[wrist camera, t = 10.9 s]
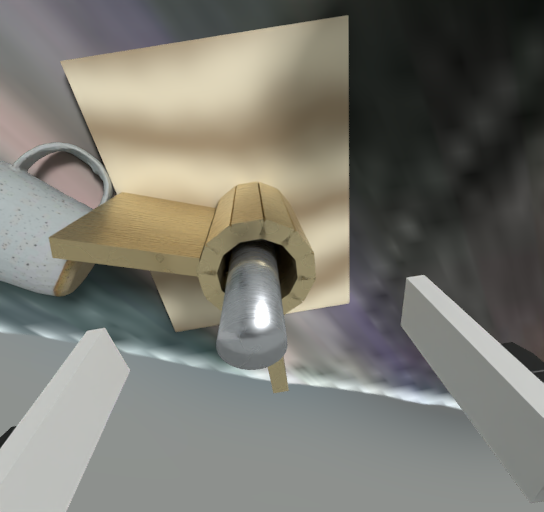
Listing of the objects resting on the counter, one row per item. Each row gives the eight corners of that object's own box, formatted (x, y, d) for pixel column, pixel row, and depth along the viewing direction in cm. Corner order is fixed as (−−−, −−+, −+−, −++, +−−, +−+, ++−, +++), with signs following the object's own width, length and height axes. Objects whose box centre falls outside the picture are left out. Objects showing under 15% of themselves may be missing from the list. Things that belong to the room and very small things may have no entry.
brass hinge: (117, 192, 21) (40, 238, 13) (286, 165, 21) (309, 194, 14) (175, 331, 29) (148, 414, 21) (302, 310, 29) (324, 384, 21)
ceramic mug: (98, 271, 26) (46, 326, 19) (0, 228, 23) (-102, 274, 16) (143, 178, 22) (99, 204, 15) (34, 115, 20) (-78, 112, 13)
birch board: (69, 63, 18) (60, 61, 17) (343, 20, 18) (348, 15, 17) (178, 325, 30) (175, 331, 29) (346, 297, 30) (349, 303, 29)
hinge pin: (234, 208, 23) (208, 325, 11) (268, 202, 23) (283, 314, 10) (240, 239, 24) (225, 373, 12) (273, 234, 24) (290, 364, 12)
